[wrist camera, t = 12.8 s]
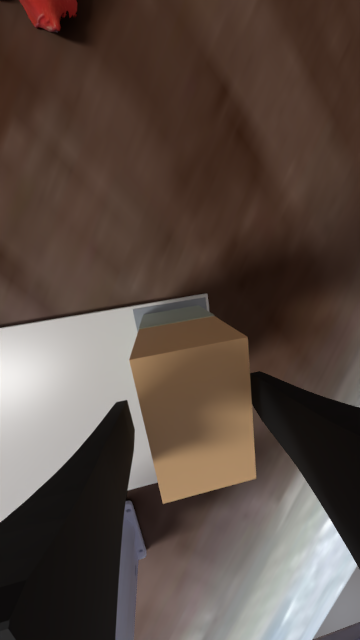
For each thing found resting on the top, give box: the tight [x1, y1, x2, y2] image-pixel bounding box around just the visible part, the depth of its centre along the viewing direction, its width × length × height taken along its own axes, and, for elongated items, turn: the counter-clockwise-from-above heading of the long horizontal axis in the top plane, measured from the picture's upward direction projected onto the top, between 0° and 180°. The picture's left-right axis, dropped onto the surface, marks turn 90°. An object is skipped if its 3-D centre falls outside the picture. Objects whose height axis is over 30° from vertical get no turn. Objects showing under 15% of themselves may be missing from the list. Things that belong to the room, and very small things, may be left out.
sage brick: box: [139, 305, 214, 329], centre depth 15 cm, size 8×5×4 cm, turn 8°
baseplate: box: [0, 293, 209, 522], centre depth 18 cm, size 20×25×1 cm
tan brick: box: [129, 316, 256, 504], centre depth 11 cm, size 8×5×4 cm, turn 8°
